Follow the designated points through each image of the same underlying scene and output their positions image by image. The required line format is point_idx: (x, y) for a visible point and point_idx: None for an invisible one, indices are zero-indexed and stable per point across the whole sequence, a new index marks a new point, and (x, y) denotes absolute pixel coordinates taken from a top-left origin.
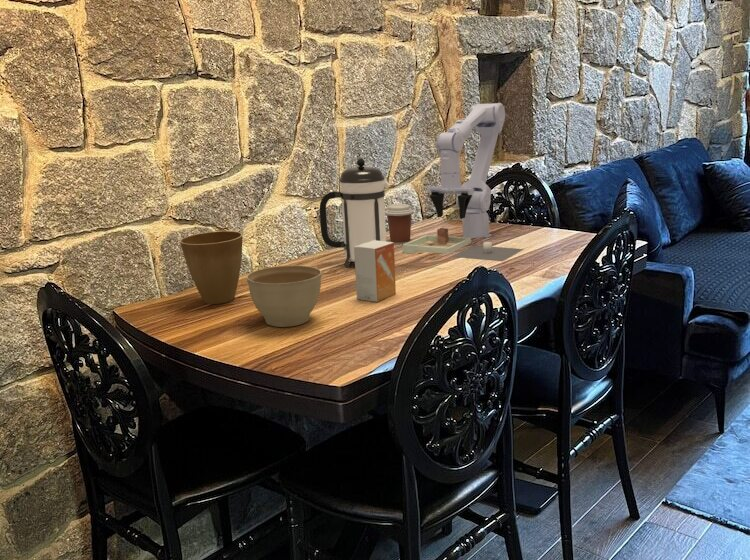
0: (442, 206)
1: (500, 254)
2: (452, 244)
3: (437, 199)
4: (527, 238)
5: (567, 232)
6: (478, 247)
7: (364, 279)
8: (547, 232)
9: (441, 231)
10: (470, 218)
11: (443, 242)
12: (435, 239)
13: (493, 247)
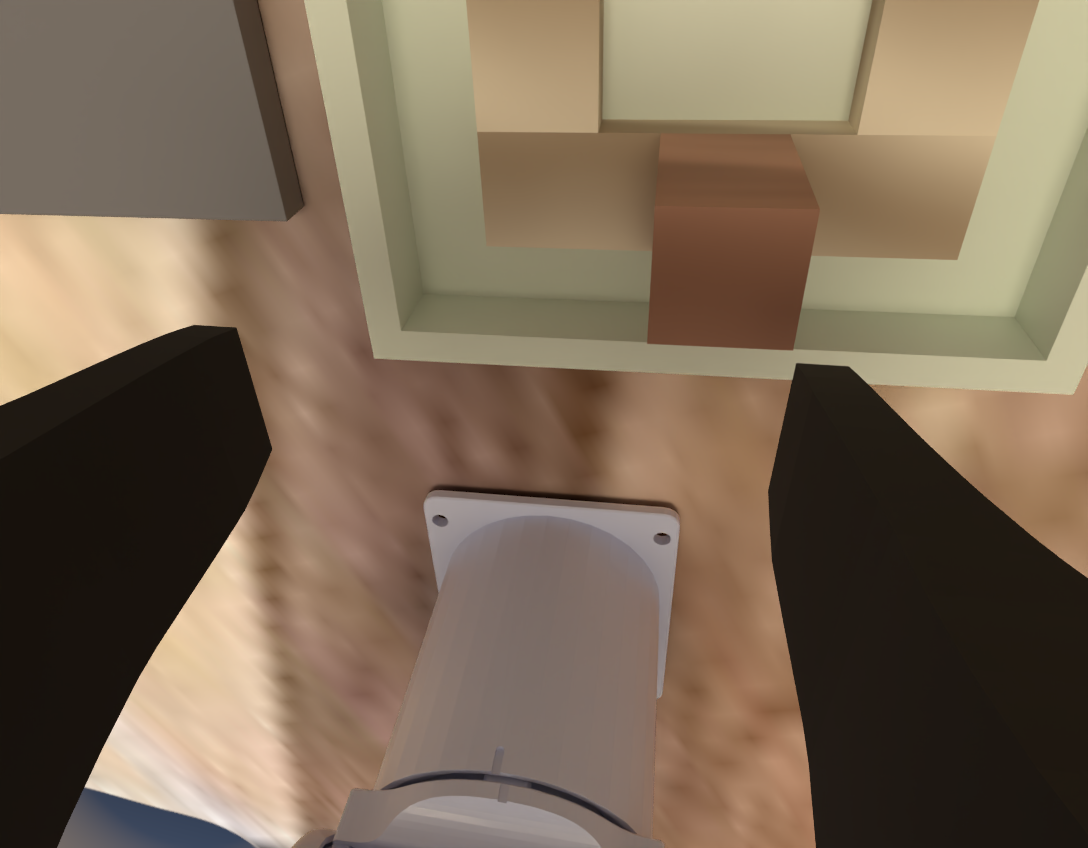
0: (805, 704)
1: None
2: (491, 55)
3: (988, 819)
4: (181, 642)
5: (107, 777)
6: (149, 111)
7: None
8: (200, 772)
9: (721, 197)
10: (484, 708)
11: (682, 132)
12: (894, 328)
13: (13, 174)
